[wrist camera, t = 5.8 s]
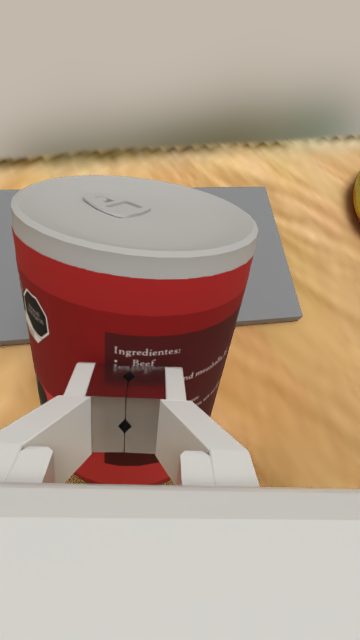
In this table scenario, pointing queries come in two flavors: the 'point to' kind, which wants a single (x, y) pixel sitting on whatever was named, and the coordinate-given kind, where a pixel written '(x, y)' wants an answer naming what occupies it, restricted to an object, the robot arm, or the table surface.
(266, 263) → the mat
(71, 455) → the robot arm
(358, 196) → the decorated donut
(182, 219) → the canned food
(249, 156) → the table surface
